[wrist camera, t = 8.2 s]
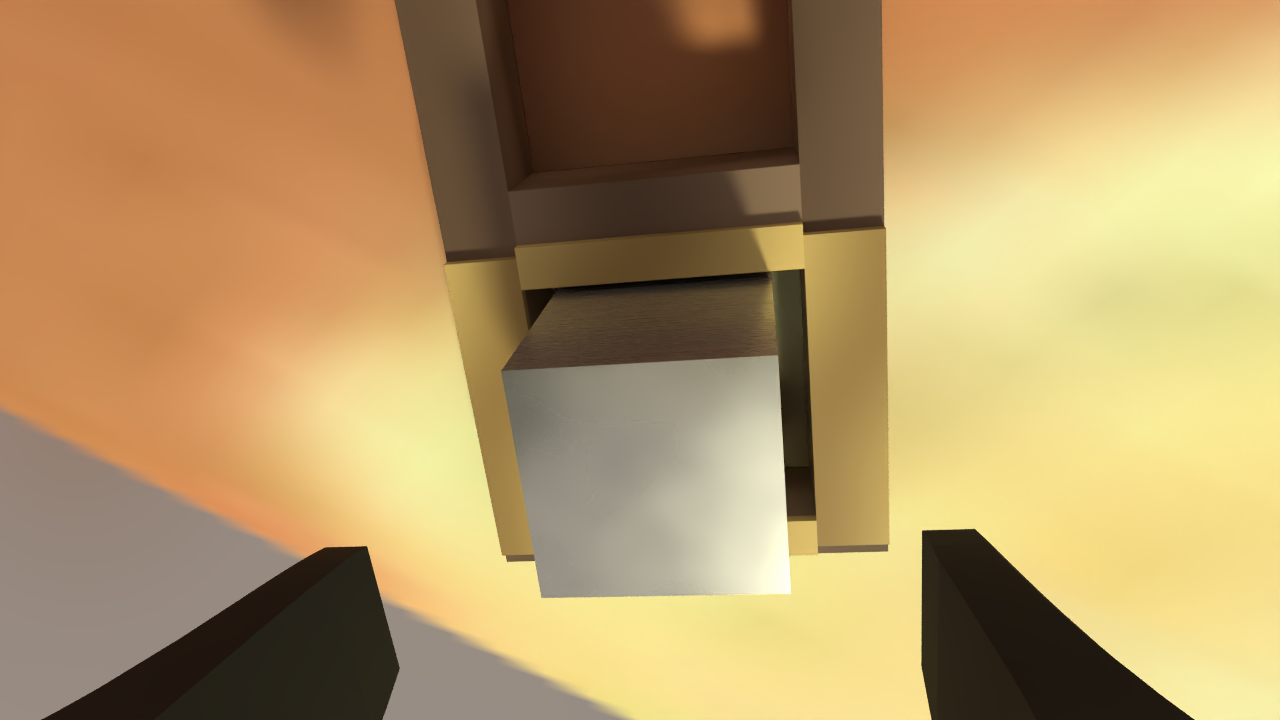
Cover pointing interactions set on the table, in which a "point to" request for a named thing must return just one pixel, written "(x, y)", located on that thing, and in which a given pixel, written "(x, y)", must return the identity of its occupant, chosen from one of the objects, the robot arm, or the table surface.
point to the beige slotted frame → (673, 241)
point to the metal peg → (653, 439)
